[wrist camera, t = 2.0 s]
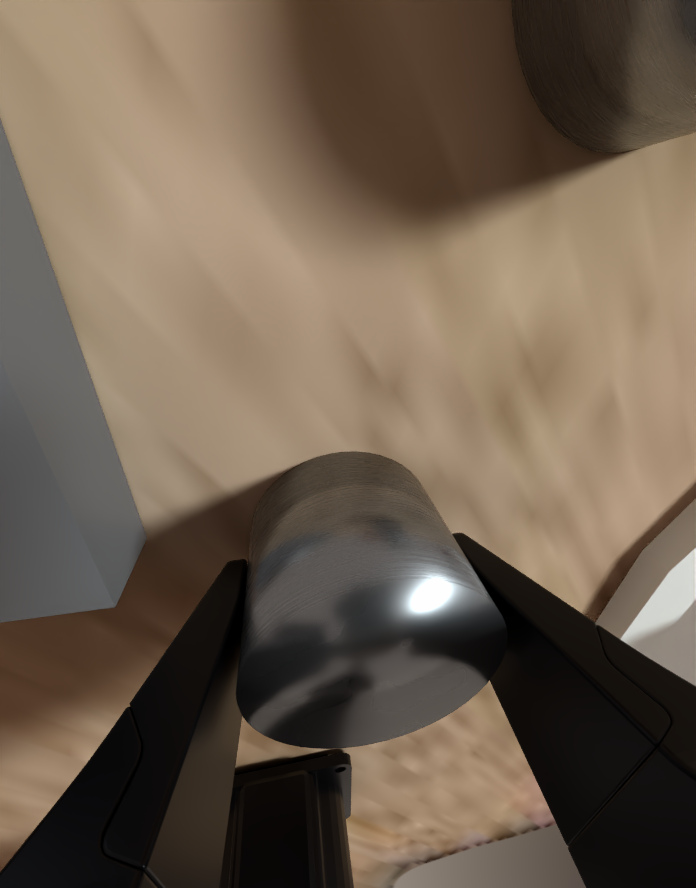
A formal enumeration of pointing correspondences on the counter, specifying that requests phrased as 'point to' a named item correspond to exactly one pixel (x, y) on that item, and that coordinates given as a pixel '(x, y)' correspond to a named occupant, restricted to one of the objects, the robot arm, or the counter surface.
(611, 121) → the cylinder
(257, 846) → the robot arm
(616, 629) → the dish
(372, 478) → the cylinder
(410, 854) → the counter surface
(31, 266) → the scale
